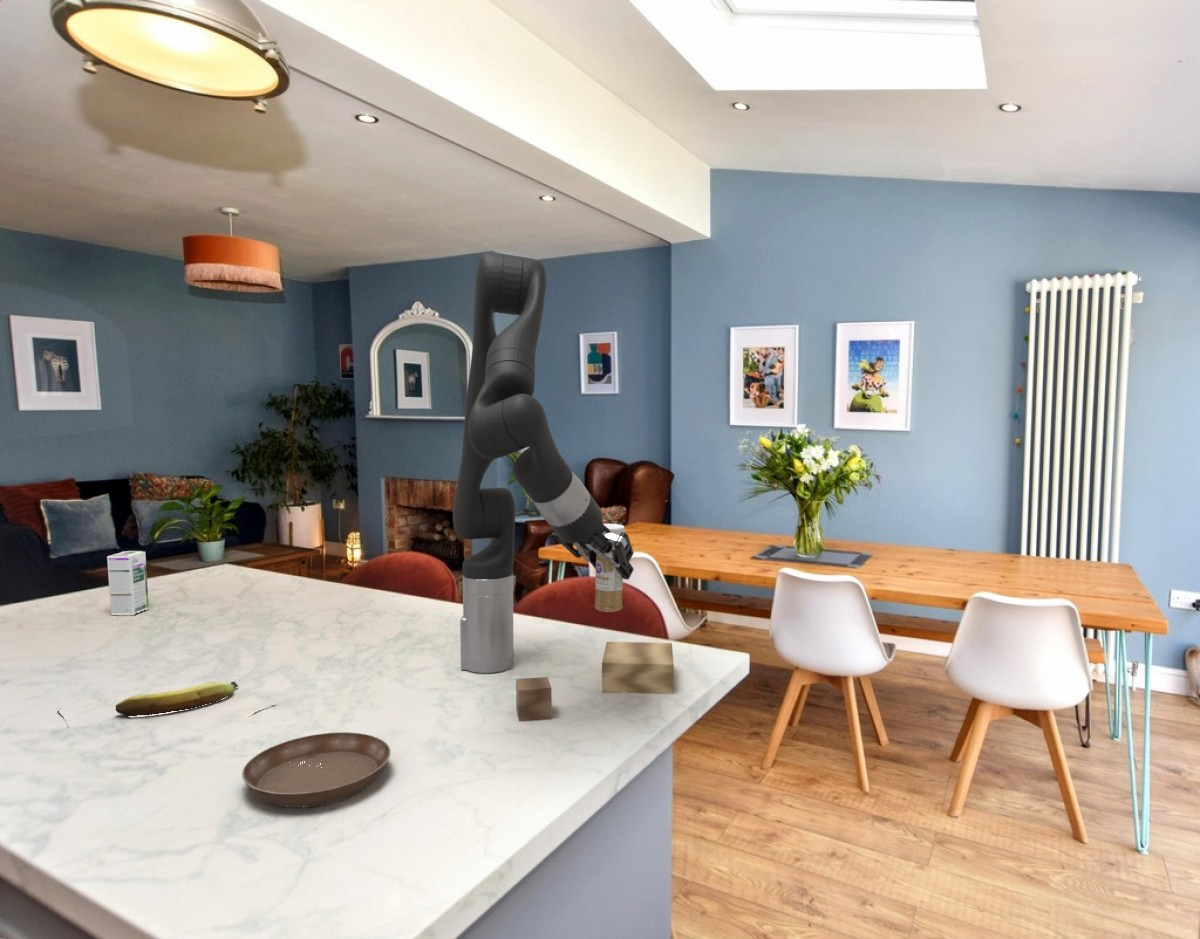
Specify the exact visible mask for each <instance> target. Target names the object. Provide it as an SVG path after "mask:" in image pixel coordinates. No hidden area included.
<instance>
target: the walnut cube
mask: <svg viewBox="0 0 1200 939" xmlns="http://www.w3.org/2000/svg"><path fill="white" fill-rule="evenodd" d="M548 677H549V676H540V677H527V678H526V677H525V678H516V679H515V680H516V681H515V685H516V686H515V690H516V691H515V692H516V694H515V695H516V697H515V699H516V700H515V701H516V702H515V703H516V704H515V706H516V713H517V718H518V722H519V723H521V721H522V722H533V721H534V720H535V721H544V720H552V714H553V713H552V712H553V711H552V710H553V709H552V706H553V705H552V702H553V701H552V685H551V682H550V679H549V678H548Z"/></svg>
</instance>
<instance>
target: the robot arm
mask: <svg viewBox="0 0 1200 939" xmlns="http://www.w3.org/2000/svg"><path fill="white" fill-rule="evenodd" d="M474 285H475V286H474V307H473V308H474V312H473V334H472V349H471V358H470V367H469V374H468V375H469V376H468V381H467V389H466V397H465V398H466V399H465V408H464V426H463V427H464V428H463V437H462V440H463V441H462V448H461V449H462V451H461V459H460V465H459V471H458V476H457V482H456V488H455V493H454V500H453V508H452V510H453V511H452V525H453V529H454V532H455V534H456V535H457V537H458V538H460V539H461V540H483V539H491V540H490V542H489V544H488V545H486V547H485V548H483V549H482V550H480V551H478V552H477V553H475V554H473V555H470V556H469V557H466V558H465V559H464V560H463V561H462V614H463V615H462V617H461V618H460V620H459V623H460V624H459V626H460V628H459V629H460V630H459V632H460V640H459V642H460V670H462V671H463V670H464V671H465V670H466V671H469V672H471V673H472V672H473V673H477V674H478V673H479V674H491V673H494V674H495V673H500V672H503V671H507V670H510V669H511V668H512V667H513V666H514V664H515V652H514V651H515V650H514V648H515V646H514V641H515V640H514V636H515V635H514V634H515V633H514V569H513V568H514V559H515V558H514V557H515V528H516V507H515V506H516V503H515V499H514V496H513V494H512V492H511V491H510V489H508V488H505V487H488V488H487V487H486V488H480V487H481V485H482V482H483V479H484V476H485V474H486V472H487V470H488V468H489V467H490V466H491V464H492V462H494V460H496V459H499V458H503V457H506V456H508V455H511V454H513V453H516V452H518V451H521V450H524V451H522V452H521V453H520V454H519V456H517V457H516V459H515V461H514V462H513V465H512V466H513V467H512V472H513V476H514V478H515V479H516V481H517V483H518V484H519V485H520V487H521V488H522V489H523V490H524V492H525V493H526V494H527V495H528V497H529V499H531V501H532V502H533V503H534V506H535V507H536V509H537V511H538V512H539V514H540V515H541V516H542V518H543V519H544V520H545V521H546V523H547V524H548V525H549V526H550V527H551V529H552V530H553V531H554V534H553V538H554V539H555V540H557V541H558V542H559V543H560V544H561V545H562V546H563V547H564V548H565V549H566V550H568V552H570V553H571V554H572V555H573V556H574V557H575V558H577V559H581V557H582V558H583V559H584V561H585V562H587V563H590V564H591V566H593V568H594V569H595V570H596V553H597V554H598V555H599V556H600V557H601V558H602V559H603V560H608V561H609V562H611V563H612V564H613V565H614V567H615V568H616V570H617V571H618V572H619V573H620V575H621V576H622V578H623V580H629V579H630V578H631V577H632V573H633V572H634V570H635V568H634V567H633V566H632V564H631V563H630V561H631V560H632V558H633V556H634V553H635V552H634V550H633V546H632V544H631V540H630V537H629V535H628V533H626V532H625V531H624V532H621V533H620V535H619V536H618V535H615V534H612V533H611V531H610V530H609V529H608V528H607V527H606V526H605V525H604V524H605V523H604V522H603V513H602V512H603V511H602V510H601V507H600V506H599V505H598V502H596V500H595V499H594V498H593V496H592V495H591V494H590V492H589V490H588V489H587V487H585V484H583V482H582V481H581V480H580V479H581V478H579V477H578V476H577V474H575V473H574V472H573V471H572V470H571V468H570V466H569V465H568V464H567V463H566V461H565V460H564V458H563V457H562V455H561V454H560V452H559V450H558V448H557V445H556V444H555V441H554V439H553V437H552V436H553V435H552V434H551V430H550V426H549V422H548V419H547V416H546V412H545V410H544V407H543V406H542V404H541V403H540V401H539V400H538V399H536V398H535V397H533V395H534V392H535V387H536V386H535V385H536V384H535V383H536V381H535V380H536V379H535V378H536V352H537V351H536V350H537V346H538V345H537V344H538V339H539V336H540V330H541V326H542V318H543V312H544V306H545V298H546V292H547V290H546V289H547V272H546V269H545V266H544V264H543V263H542V262H541V261H540V260H538V259H535V258H533V257H531V258H530V257H526V256H520V255H519V256H518V255H513V254H512V255H511V254H506V253H499V252H485V253H483V254H482V255H481V256H480V258H479V260H478V263H477V269H476V276H475V284H474ZM494 313H498V314H505V315H513V316H518V317H517V318H516V319H515V320H514V321H512V323H510V324H509V325H508V326H507V327H505V328H504V329H503V330H502V331H501V332H500V333H499V334H498V335H497V332H496V329H495V328H496V327H495V323H494V317H493V315H494ZM574 546H575V547H576V548H575V547H574ZM607 546H608V547H607ZM606 548H607V549H606ZM604 550H606V551H605V552H604ZM614 551H615V552H616V554H617V556H616V558H614V557H613V553H614Z"/></svg>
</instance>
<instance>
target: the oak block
mask: <svg viewBox="0 0 1200 939" xmlns="http://www.w3.org/2000/svg"><path fill="white" fill-rule="evenodd" d="M603 652H604V653H603V655H602V656H603V657H602V661H601V692H602V693H622V692H631V693H630V694H632V693H634V694H663V693H673V694H674V678H675V677H674V670H675V669H674V667H675V666H674V654H673V652H674V651H673V643H672V642H643V641H642V642H641V641H640V642H637V641H606V642H605V646H604V651H603Z"/></svg>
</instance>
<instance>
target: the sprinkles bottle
mask: <svg viewBox="0 0 1200 939" xmlns="http://www.w3.org/2000/svg"><path fill="white" fill-rule="evenodd" d="M603 524H604V525H605V526H606V527H607V528H608V529H609V530H610V531H611V533H612V534H615V535H618V536H619V535H620V533H621V532H624V533H625V526H624V525H622V524H620V523H619V524H618V523H603ZM607 547H608V546H607ZM606 549H607V548H606ZM605 551H606V550H604V552H605ZM616 556H617V554H616V552H615V551H614V553H613V557H614V558H616ZM594 581H595V582H594V583H595V586H594V587H595V597H594V598H595V599H594V600H595V601H594V608H595V609H596V610H597V611H600V612H604V613H605V612H606V613H613V612H618V611H621V610H622V609H623V586H624V579H623V578H622V576H621V575H620V573H619V572H618V571H617V570H616V568H615V567H614V565H613V564H612V563H611V562H609V561H608V560H603V559H602V558H601V557H600V556H599V555H598V554H597V553H596V569H595V580H594Z"/></svg>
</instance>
